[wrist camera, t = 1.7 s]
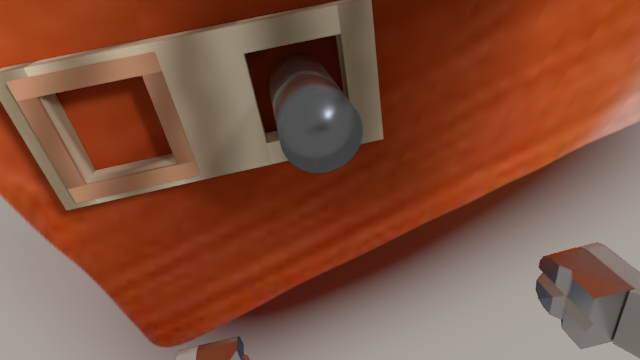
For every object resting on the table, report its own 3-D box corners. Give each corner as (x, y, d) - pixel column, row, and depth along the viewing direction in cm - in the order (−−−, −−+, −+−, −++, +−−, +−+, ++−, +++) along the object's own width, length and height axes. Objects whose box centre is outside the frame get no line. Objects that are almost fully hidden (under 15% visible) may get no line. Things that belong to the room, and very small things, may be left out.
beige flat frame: (363, -5, 27) (372, -2, 25) (375, 129, 32) (384, 140, 30) (2, 67, 25) (-18, 76, 23) (76, 196, 30) (64, 212, 28)
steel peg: (322, 47, 28) (357, 85, 19) (331, 105, 30) (366, 163, 22) (261, 59, 28) (270, 104, 19) (275, 117, 30) (288, 180, 21)
